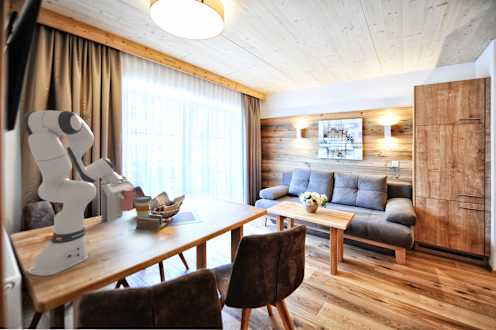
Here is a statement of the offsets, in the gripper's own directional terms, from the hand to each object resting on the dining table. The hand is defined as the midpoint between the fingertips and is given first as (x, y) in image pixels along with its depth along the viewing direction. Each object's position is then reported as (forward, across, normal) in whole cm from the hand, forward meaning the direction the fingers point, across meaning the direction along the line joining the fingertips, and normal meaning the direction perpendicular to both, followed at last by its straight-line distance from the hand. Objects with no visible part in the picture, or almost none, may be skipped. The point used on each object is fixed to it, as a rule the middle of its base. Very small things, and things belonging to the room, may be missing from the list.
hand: (127, 197), depth 138 cm
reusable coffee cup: (+8, +33, +26) cm, 43 cm away
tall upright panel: (-5, +22, +38) cm, 44 cm away
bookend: (+21, +17, +10) cm, 29 cm away
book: (+5, 0, +6) cm, 8 cm away
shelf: (+22, +13, +11) cm, 28 cm away
